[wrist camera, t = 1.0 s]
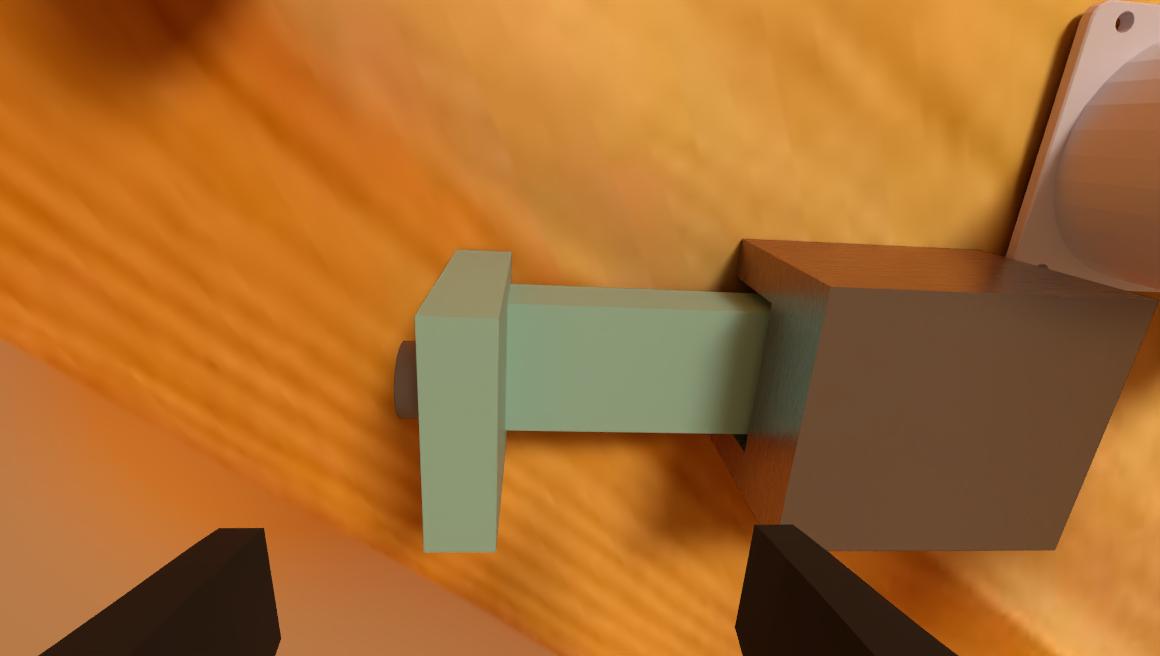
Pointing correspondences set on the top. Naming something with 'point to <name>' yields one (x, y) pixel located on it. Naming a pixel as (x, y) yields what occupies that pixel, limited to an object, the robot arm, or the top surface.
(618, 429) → the handle
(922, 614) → the top surface
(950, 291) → the block
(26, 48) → the top surface
